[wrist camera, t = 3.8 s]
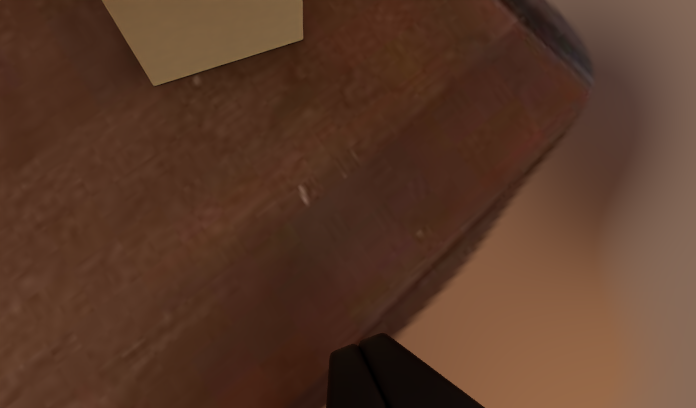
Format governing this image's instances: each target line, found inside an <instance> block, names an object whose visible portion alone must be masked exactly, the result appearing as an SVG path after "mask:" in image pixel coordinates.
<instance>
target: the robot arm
mask: <svg viewBox="0 0 696 408" xmlns="http://www.w3.org/2000/svg"><path fill="white" fill-rule="evenodd" d="M326 408H485V407H483V406H482V405H481V404H479V403H478V402H477V401H475V400H474V399H473V398H471V397H470V396H469V395H467V394H466V393H465V392H463V391H462V390H461V389H459V388H458V387H457V386H455V385H454V384H452V383H451V382H450V381H448V380H447V379H446V378H444V377H443V376H442V375H441V374H439V373H438V372H437V371H435V370H434V369H433V368H431V367H430V366H429V365H427V364H426V363H425V362H423V361H422V360H421V359H419V358H418V357H417V356H415V355H414V354H413V353H411V352H410V351H409V350H407V349H406V348H405V347H403V346H402V345H401V344H399V343H398V342H397V341H395V340H394V339H393V338H391V337H390V336H388V335H387V334H385V333H380V334H377V335H374V336H372V337H369V338H367V339H364V340H362V341H360V343H359V347H358V346H357V345H356V344H351V345H348V346H346V347H343V348H341V349H338V350H336V351H333V352H332V353H331V355H330V360H329V375H328V389H327V403H326Z"/></svg>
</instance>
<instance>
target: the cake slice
mask: <svg viewBox="0 0 696 408" xmlns="http://www.w3.org/2000/svg"><path fill="white" fill-rule="evenodd" d="M102 2H103V3H104V5H105V7H106V8H107V10H108V12H109V13H110V15H111V17H112V18H113V20H114V22H115V23H116V25H117V26H118V28H119V30H120V31H121V33H122V35H123V36H124V38H125V40H126V41H127V43H128V45H129V46H130V48H131V50H132V51H133V53H134V55H135V56H136V58H137V60H138V61H139V63H140V65H141V66H142V68H143V70H144V71H145V73H146V74H147V76H148V78H149V79H150V81H151V83H152V84H153V86H157V85H160V84H163V83H166V82H169V81H173V80H176V79H179V78H182V77H185V76H188V75H192V74H195V73H198V72H201V71H204V70H208V69H211V68H214V67H217V66H220V65H223V64H227V63H230V62H233V61H236V60H239V59H243V58H246V57H249V56H252V55H255V54H258V53H262V52H265V51H268V50H271V49H274V48H278V47H281V46H284V45H287V44H290V43H293V42H297V41H300V40H302V39H303V0H102Z"/></svg>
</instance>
